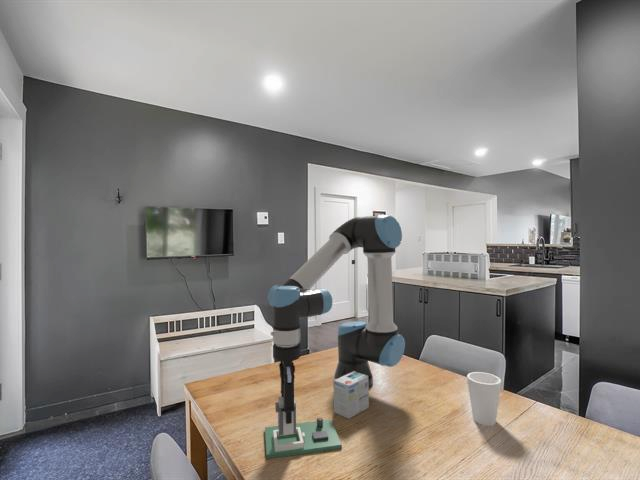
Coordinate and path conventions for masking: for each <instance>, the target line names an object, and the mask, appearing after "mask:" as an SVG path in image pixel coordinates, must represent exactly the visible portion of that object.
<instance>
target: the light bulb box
mask: <svg viewBox="0 0 640 480" xmlns="http://www.w3.org/2000/svg"><path fill="white" fill-rule="evenodd" d="M369 387H370V386H369V384H368V376H367V375H364V374H361V373H358V372H356V371H353V372H351V373H349V374H347V375H344V376H342V377H340V378H338V379H335V380H334V379H333V405H334V409H333V411H334V413H335V414H337V415H339V416H342V417H344V418H345V419H348V420H349V419H351V418H353V417H354V416H356V415H358V414H359V413H361V412H363V411H365V410H367V409H368V408H369V407H370V402H369V401H370V400H369V399H370V398H369V397H370V395H369V389H370V388H369Z"/></svg>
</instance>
